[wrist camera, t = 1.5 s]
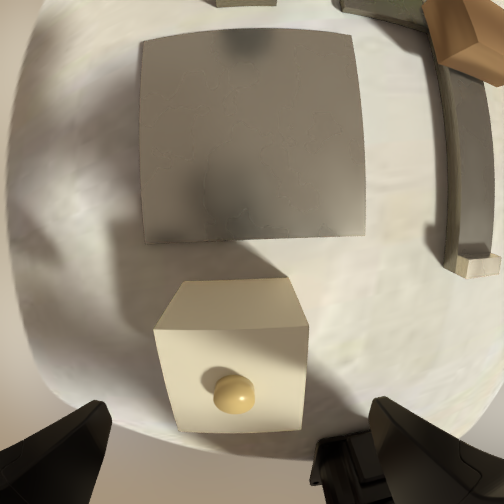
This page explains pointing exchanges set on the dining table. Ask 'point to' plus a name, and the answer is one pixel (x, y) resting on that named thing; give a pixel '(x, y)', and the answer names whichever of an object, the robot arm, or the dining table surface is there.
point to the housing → (234, 356)
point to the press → (291, 138)
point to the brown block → (468, 37)
